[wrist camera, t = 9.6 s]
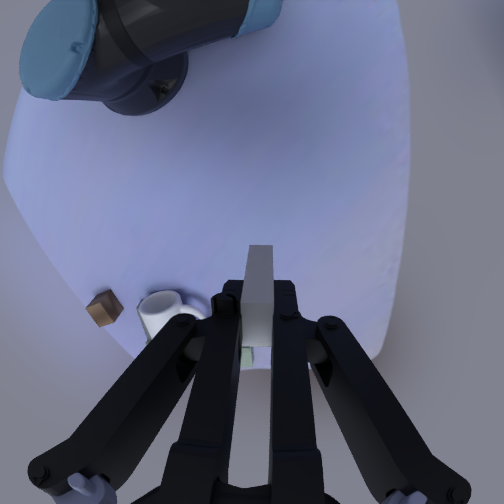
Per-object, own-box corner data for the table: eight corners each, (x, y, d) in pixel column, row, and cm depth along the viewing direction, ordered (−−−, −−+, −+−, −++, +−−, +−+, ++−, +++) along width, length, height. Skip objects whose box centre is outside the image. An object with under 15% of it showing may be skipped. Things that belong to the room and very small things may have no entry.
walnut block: (96, 295, 51) (85, 308, 47) (111, 289, 50) (99, 302, 45) (109, 313, 53) (99, 327, 48) (124, 308, 52) (114, 322, 47)
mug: (164, 330, 53) (152, 357, 46) (147, 291, 49) (131, 315, 42) (218, 328, 52) (211, 357, 45) (205, 286, 48) (195, 312, 41)
